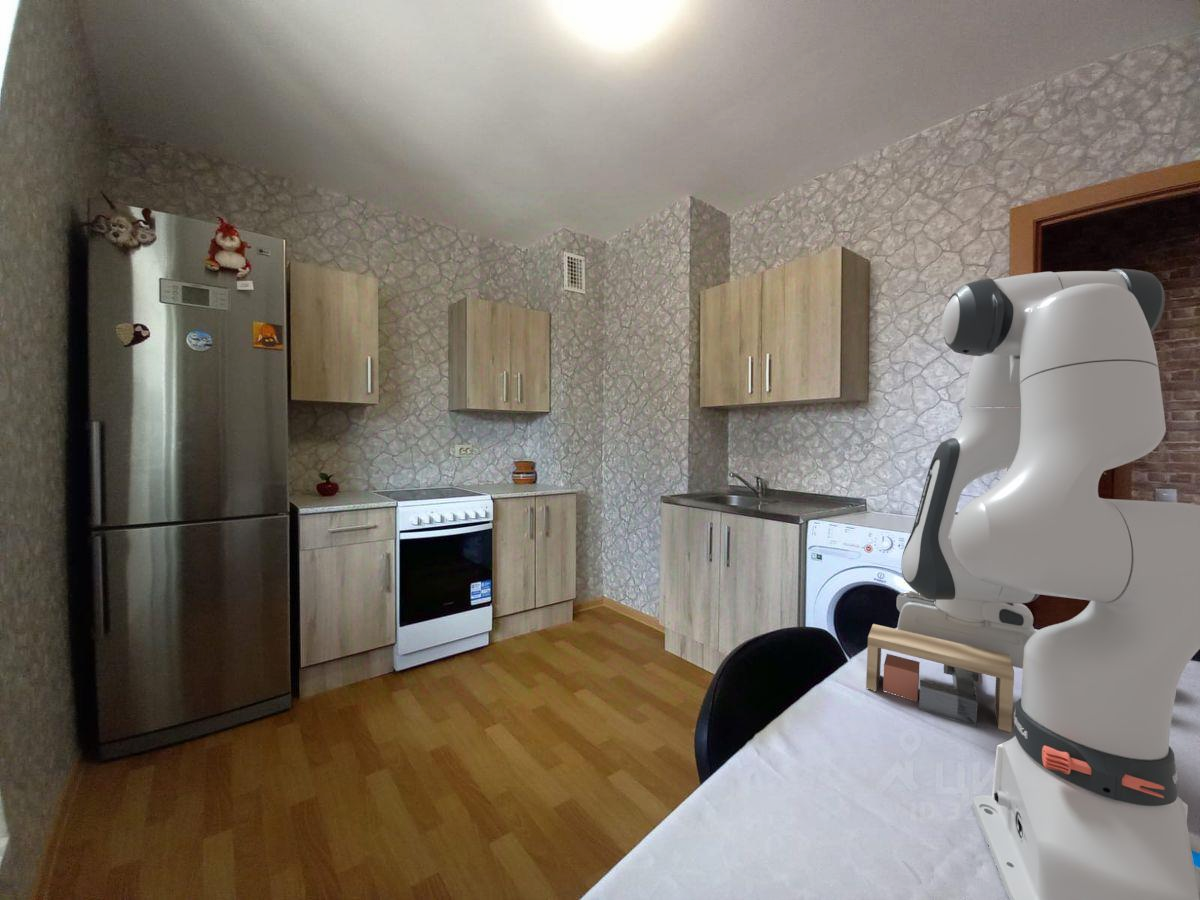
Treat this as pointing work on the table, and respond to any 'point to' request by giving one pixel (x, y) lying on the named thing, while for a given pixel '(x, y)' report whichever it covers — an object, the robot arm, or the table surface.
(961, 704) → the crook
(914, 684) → the block
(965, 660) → the bridge
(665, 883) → the table surface
